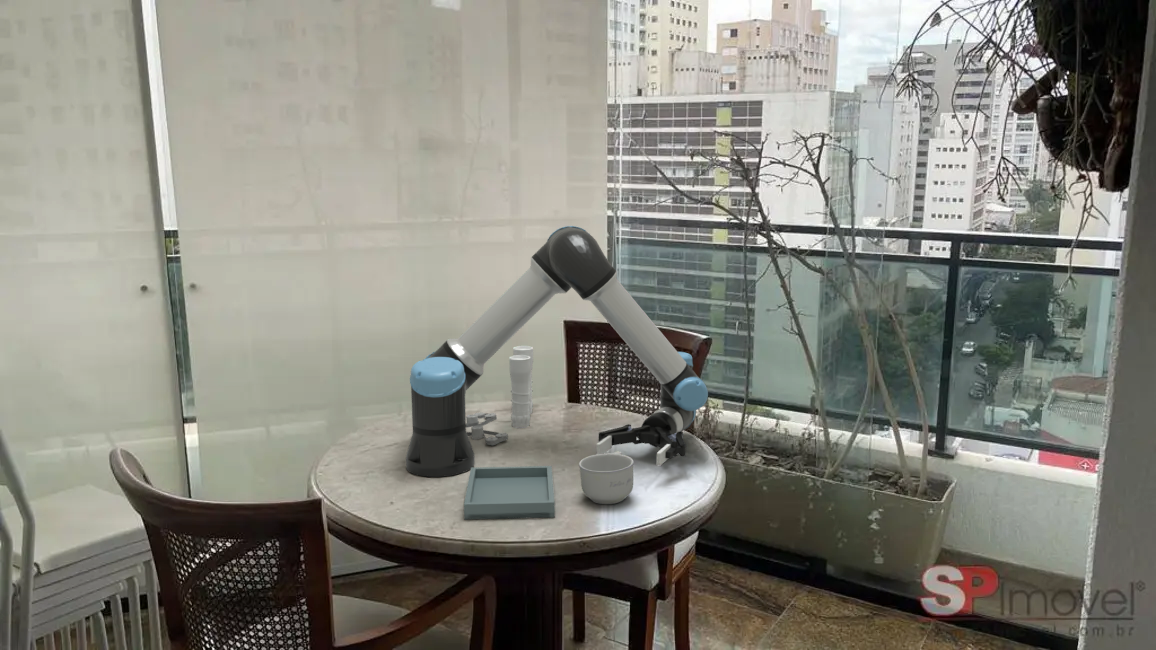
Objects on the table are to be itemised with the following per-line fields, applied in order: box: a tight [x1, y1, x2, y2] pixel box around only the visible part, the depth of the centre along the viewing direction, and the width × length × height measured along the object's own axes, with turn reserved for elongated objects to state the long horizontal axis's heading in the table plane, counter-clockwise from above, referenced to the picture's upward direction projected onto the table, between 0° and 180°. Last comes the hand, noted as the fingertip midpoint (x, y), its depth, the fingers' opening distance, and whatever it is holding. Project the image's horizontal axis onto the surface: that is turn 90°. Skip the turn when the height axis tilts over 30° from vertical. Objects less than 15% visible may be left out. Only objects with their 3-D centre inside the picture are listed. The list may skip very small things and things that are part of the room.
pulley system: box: [465, 412, 509, 447], centre depth 211 cm, size 27×5×15 cm
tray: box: [463, 465, 556, 521], centre depth 167 cm, size 17×20×3 cm
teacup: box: [578, 450, 634, 505], centre depth 168 cm, size 14×11×8 cm
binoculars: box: [508, 345, 534, 429], centre depth 220 cm, size 17×5×18 cm, turn 0°
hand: (627, 454), depth 175 cm, fingers open, 13 cm apart
